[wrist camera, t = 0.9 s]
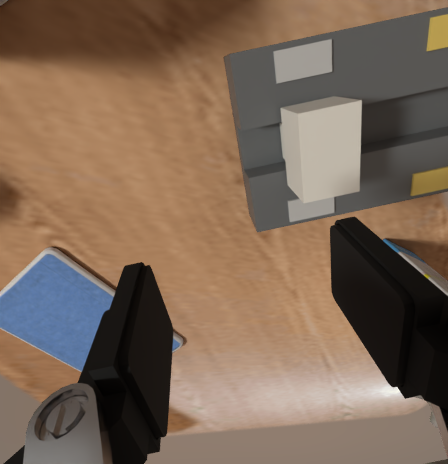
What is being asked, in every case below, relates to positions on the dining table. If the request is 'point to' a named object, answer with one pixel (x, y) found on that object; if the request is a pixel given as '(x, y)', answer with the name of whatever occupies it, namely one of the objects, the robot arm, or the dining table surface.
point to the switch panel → (372, 119)
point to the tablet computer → (57, 307)
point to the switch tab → (322, 147)
